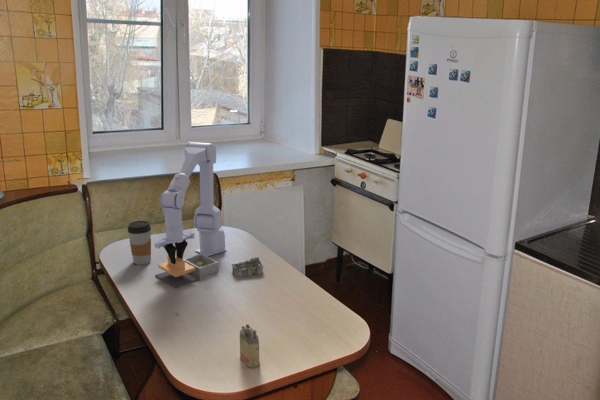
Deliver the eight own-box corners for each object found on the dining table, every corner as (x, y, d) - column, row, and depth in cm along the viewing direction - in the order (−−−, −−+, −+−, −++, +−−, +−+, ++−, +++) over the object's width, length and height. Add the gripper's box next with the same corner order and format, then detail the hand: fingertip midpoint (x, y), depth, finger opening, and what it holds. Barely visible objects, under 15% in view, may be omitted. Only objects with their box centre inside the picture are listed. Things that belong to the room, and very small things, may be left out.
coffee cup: (150, 266, 210) (147, 228, 205) (127, 266, 210) (123, 227, 205) (156, 257, 218) (153, 220, 213) (134, 257, 218) (131, 220, 213)
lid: (178, 263, 206) (177, 250, 204) (195, 272, 198) (194, 259, 197) (158, 269, 201) (157, 256, 199) (175, 279, 193) (174, 266, 192)
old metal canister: (237, 356, 154) (236, 323, 150) (250, 352, 156) (249, 319, 152) (250, 369, 148) (249, 335, 145) (263, 365, 150) (262, 331, 147)
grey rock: (260, 266, 210) (259, 256, 209) (264, 275, 203) (264, 264, 202) (231, 269, 208) (230, 259, 206) (234, 278, 201) (234, 267, 200)
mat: (179, 268, 208) (179, 267, 208) (199, 279, 199) (199, 278, 199) (155, 276, 201) (155, 275, 201) (174, 288, 192) (174, 287, 192)
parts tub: (201, 262, 213) (201, 253, 212) (218, 271, 206) (218, 262, 205) (183, 268, 208) (182, 259, 207) (200, 277, 201) (199, 268, 200)
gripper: (160, 233, 187) (163, 271, 191) (198, 223, 196) (200, 259, 200) (150, 228, 192) (153, 265, 196) (187, 218, 201) (189, 254, 205)
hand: (176, 262), depth 198 cm, fingers closed on lid
